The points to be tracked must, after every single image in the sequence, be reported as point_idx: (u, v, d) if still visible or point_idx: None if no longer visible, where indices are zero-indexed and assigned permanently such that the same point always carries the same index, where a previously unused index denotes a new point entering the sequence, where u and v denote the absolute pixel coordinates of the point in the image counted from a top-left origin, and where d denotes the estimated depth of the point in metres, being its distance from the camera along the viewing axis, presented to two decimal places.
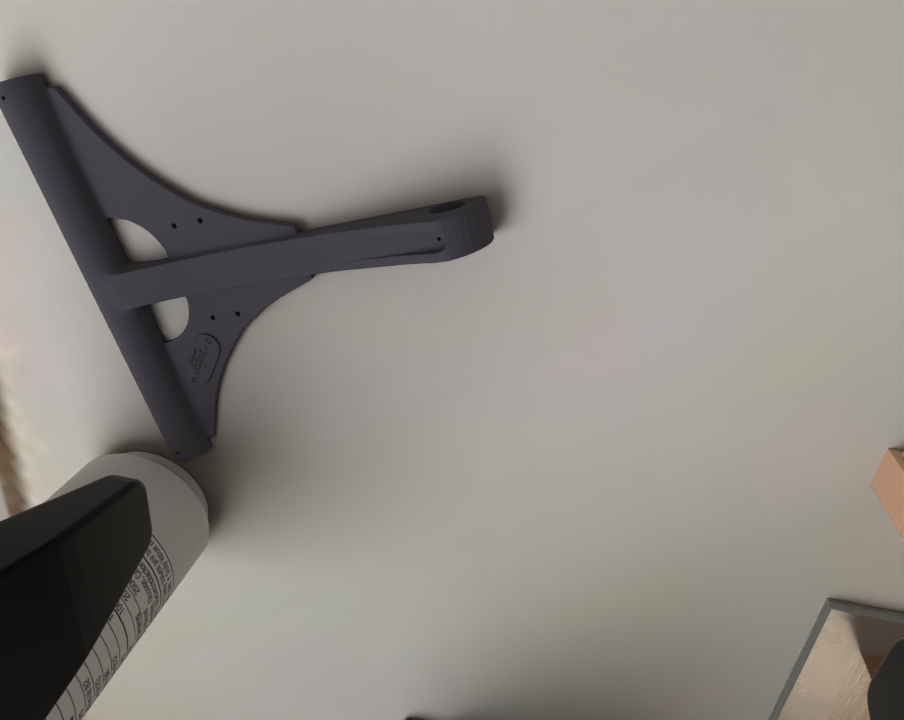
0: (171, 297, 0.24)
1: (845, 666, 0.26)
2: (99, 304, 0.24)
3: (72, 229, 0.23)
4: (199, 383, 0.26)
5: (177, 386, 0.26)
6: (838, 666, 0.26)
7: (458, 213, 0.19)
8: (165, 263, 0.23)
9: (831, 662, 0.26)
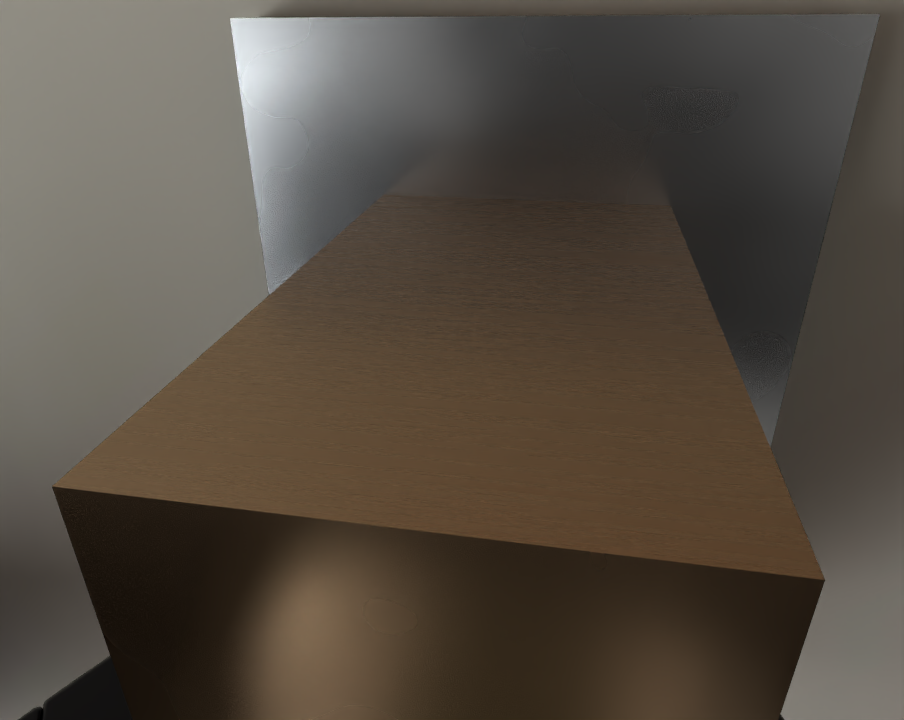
0: None
1: None
2: None
3: None
4: None
5: None
6: None
7: None
8: None
9: (322, 241, 0.09)
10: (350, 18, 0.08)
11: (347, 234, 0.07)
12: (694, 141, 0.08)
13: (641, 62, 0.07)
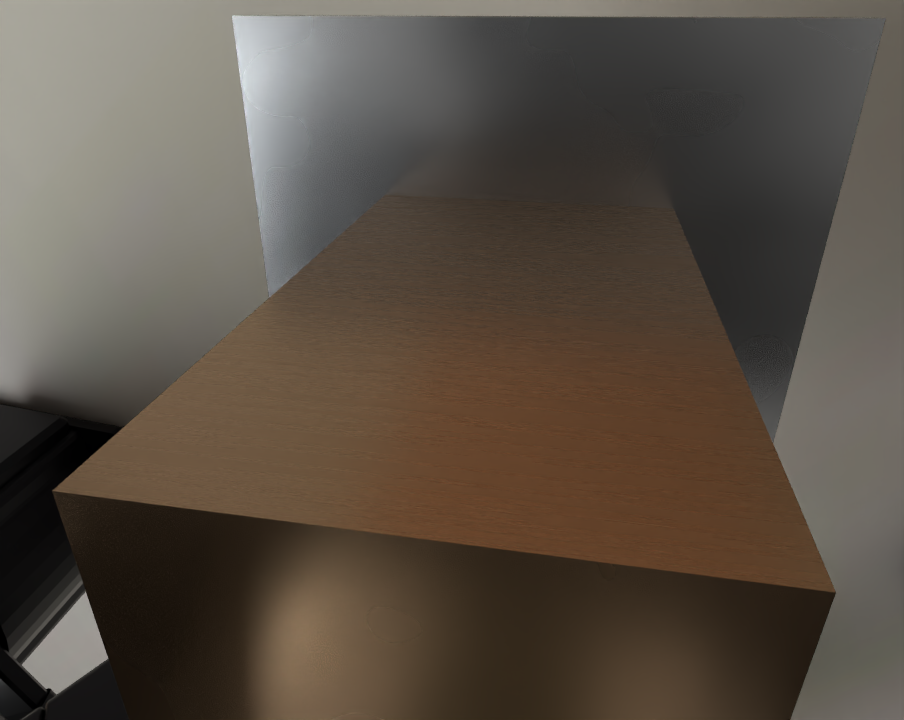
0: None
1: None
2: None
3: None
4: None
5: None
6: None
7: None
8: None
9: (323, 241, 0.09)
10: (353, 17, 0.08)
11: (349, 234, 0.07)
12: (698, 144, 0.08)
13: (646, 64, 0.07)
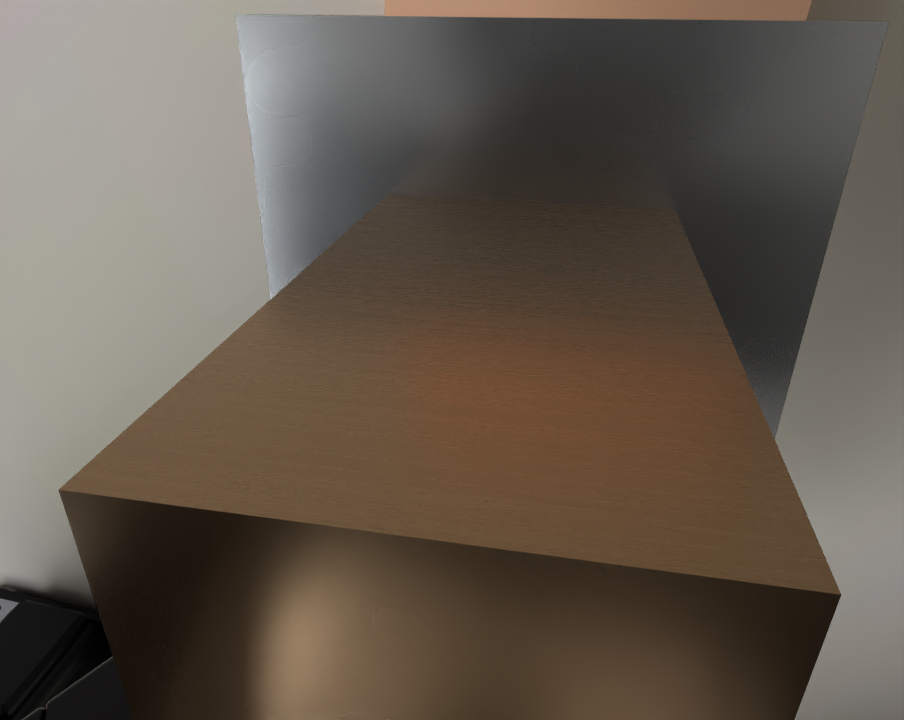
0: None
1: None
2: None
3: None
4: None
5: None
6: None
7: None
8: None
9: (325, 240, 0.09)
10: (357, 17, 0.08)
11: (352, 234, 0.07)
12: (700, 146, 0.08)
13: (649, 66, 0.07)
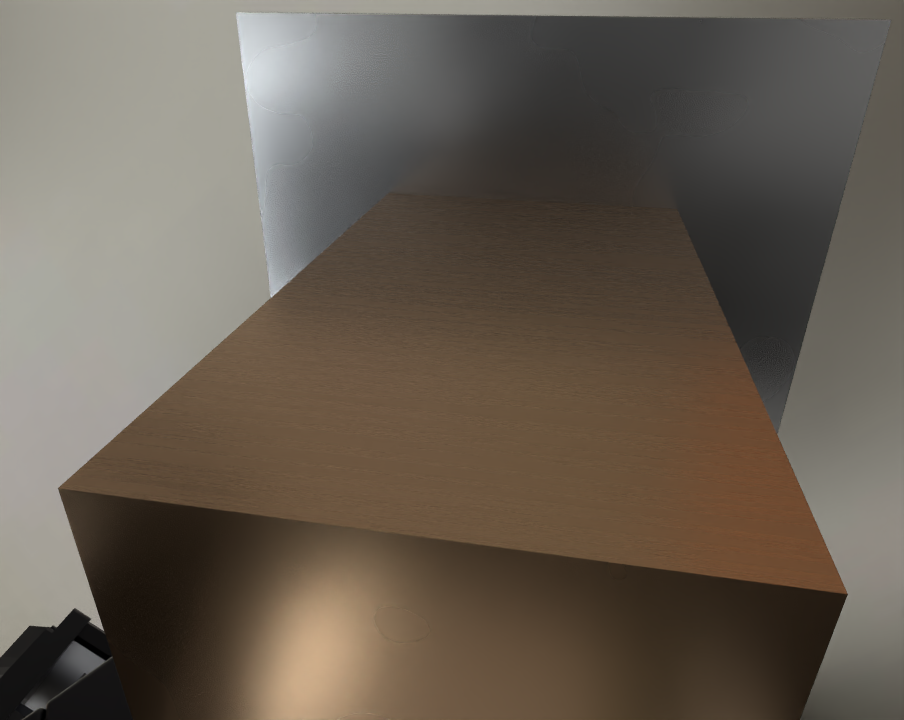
0: None
1: None
2: None
3: None
4: None
5: None
6: None
7: None
8: None
9: (325, 239, 0.09)
10: (358, 15, 0.08)
11: (352, 233, 0.07)
12: (702, 144, 0.08)
13: (650, 64, 0.07)
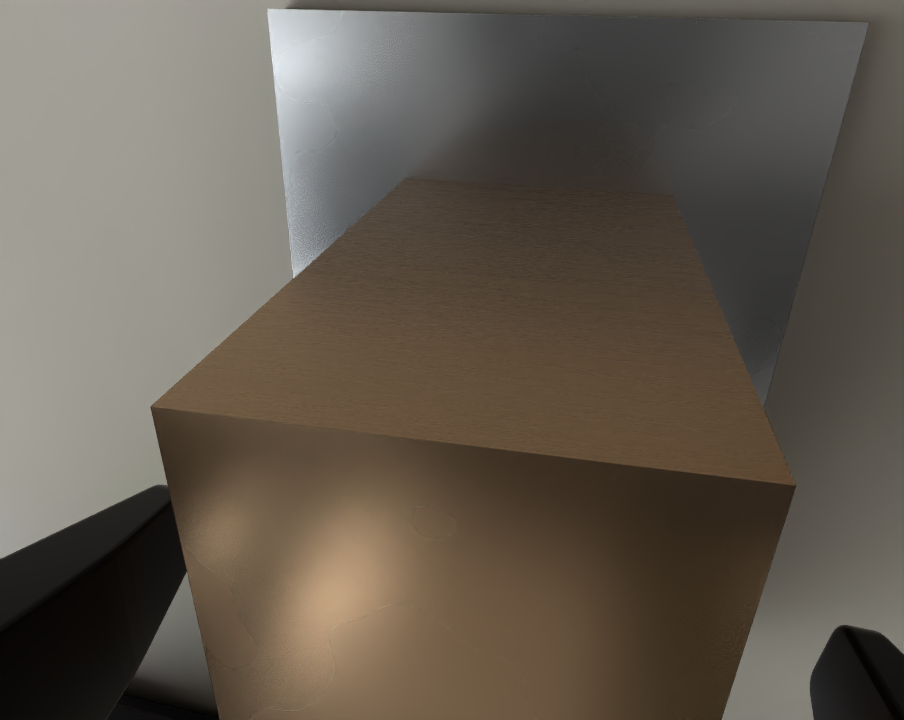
0: None
1: None
2: None
3: None
4: None
5: None
6: None
7: None
8: None
9: (345, 221, 0.10)
10: (380, 12, 0.08)
11: (375, 212, 0.08)
12: (696, 135, 0.08)
13: (649, 61, 0.08)
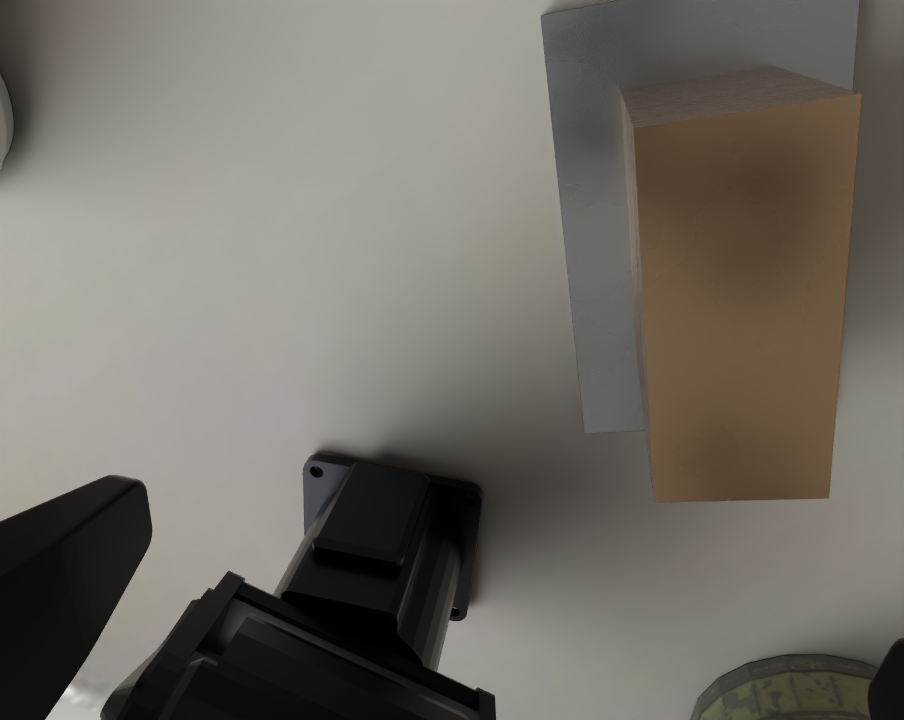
0: None
1: (608, 122, 0.17)
2: None
3: None
4: None
5: None
6: (598, 127, 0.17)
7: None
8: None
9: (586, 123, 0.17)
10: (602, 4, 0.16)
11: (627, 98, 0.15)
12: (781, 30, 0.16)
13: None
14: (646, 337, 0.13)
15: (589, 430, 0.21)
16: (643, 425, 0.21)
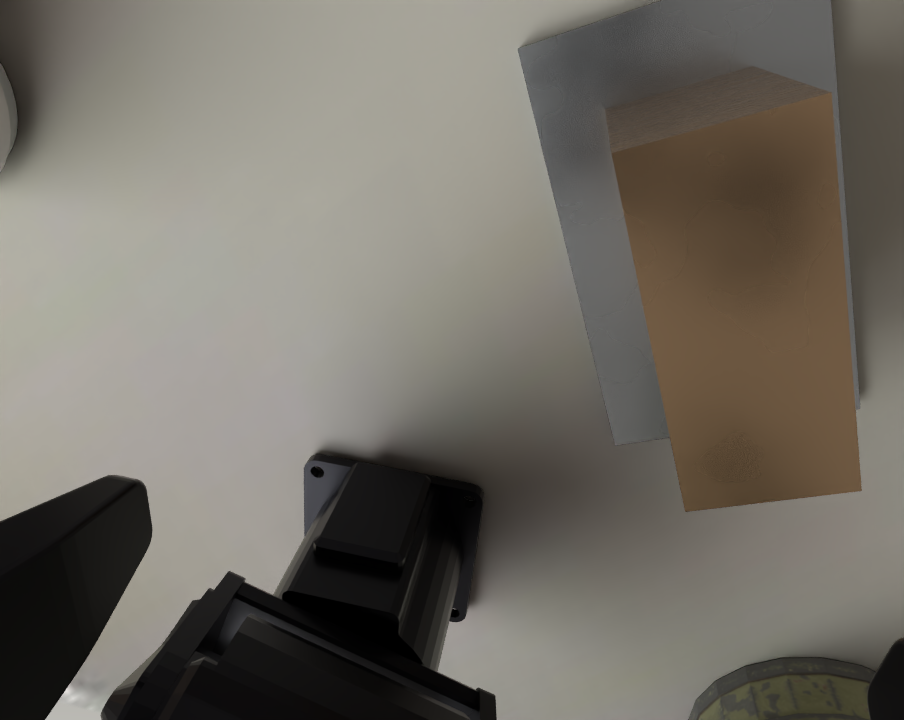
0: None
1: (597, 141, 0.17)
2: None
3: None
4: None
5: None
6: (589, 147, 0.18)
7: None
8: None
9: (576, 145, 0.18)
10: (575, 29, 0.16)
11: (610, 118, 0.16)
12: (756, 30, 0.16)
13: (720, 3, 0.16)
14: (653, 351, 0.13)
15: (619, 442, 0.21)
16: None
